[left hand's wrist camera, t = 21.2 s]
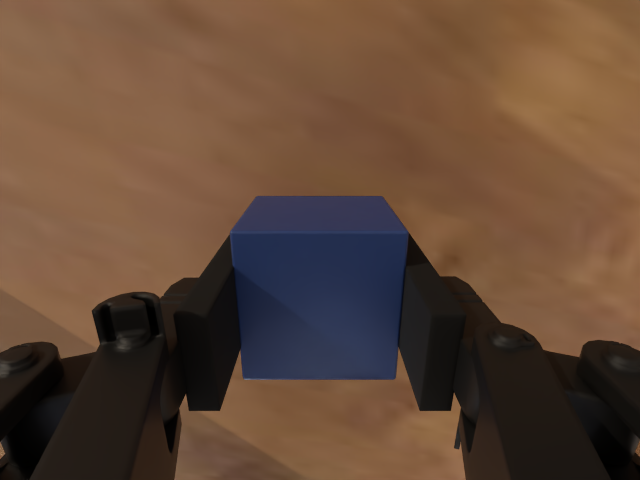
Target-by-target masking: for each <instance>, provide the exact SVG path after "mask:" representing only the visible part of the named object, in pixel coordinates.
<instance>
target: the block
mask: <svg viewBox="0 0 640 480" xmlns="http://www.w3.org/2000/svg"><path fill="white" fill-rule="evenodd" d="M408 236H409V233H408V231H407V229H406V228H405V226H404V225H403V224H402V222H401V221H400V220H399V218H398V217H397V215H396V214H395V213H394V211H393V210H392V209H391V207H390V206H389V205H388V203H387V202H386V200H385V199H384V198H383V197H382V196H257V197H256V198H255V199H254V200H253V202H252V203H251V204H250V206H249V207H248V208H247V210H246V211H245V212H244V214H243V215H242V216H241V218H240V219H239V221H238V222H237V223H236V225H235V226H234V227H233V229H232V230H231V231H230V241H231V252H232V263H233V266H234V276H235V287H236V298H237V309H238V320H239V331H240V343H241V348H240V351H241V362H242V373H243V378H244V379H245V380H393V379H395V378H396V370H397V359H398V348H399V335H400V324H401V313H402V302H403V290H404V279H405V268H406V259H407V247H408Z"/></svg>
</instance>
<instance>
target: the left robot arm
mask: <svg viewBox="0 0 640 480" xmlns="http://www.w3.org/2000/svg"><path fill="white" fill-rule="evenodd" d="M408 233H409V232H408ZM92 314H93V318H94V322H95V326H96V330H97V333H98V337H99V341H100V345H99V347H98V349H97V351H96V352H93V353H89V354H84V355H79V356H74V357H68V358H63V359H61V358H60V355H59V351H58V348H57V347H56V346H55V345H54V344H52V343H47V342H35V343H26V344H21V345H17V346H14V347H11V348H10V349H8V350H6V351H4V352H1V353H0V442H1V444H2V447H3V449H4V452H5V455H4V456H3V457H2V458H1V459H0V480H174V478H175V470H176V463H177V455H178V447H179V440H180V432H181V425H182V424H181V417H180V411H179V407H180V405H181V403H182V401H183V399H184V396H185V394H186V396H187V402H188V408H189V411H220V409H221V406H222V403H223V400H224V397H225V394H226V391H227V388H228V385H229V382H230V379H231V376H232V373H233V370H234V366H235V363H236V360H237V357H238V354H239V351H240V348H241V343H240V331H239V320H238V309H237V298H236V287H235V276H234V266H233V263H232V252H231V241H230V235H229V236H228V238H227V239H226V240H225V242H224V243H223V245H222V246H221V247H220V249H219V250H218V252H217V253H216V254H215V256H214V257H213V259H212V260H211V262H210V263H209V264H208V266H207V267H206V269H205V270H204V271H203V273H202V274H201V276H200V277H199V278H183V279H181V280H180V281H178V282H176V283H174V284H173V285H171V286H170V288H169V289H168V290H167V291H166V292H165V294H164V296H162V297H161V298H159V297H158V296H157V295H155V294H153V293H149V292H131V293H126V294H121V295H118V296H115V297H112V298H109V299H107V300H105V301H104V302H102V303H100V304H98V305H97V306H96V307H95V308H94V309H93V310H92ZM399 349H400V352H401V355H402V358H403V361H404V364H405V367H406V370H407V373H408V376H409V379H410V382H411V386H412V389H413V392H414V395H415V398H416V401H417V404H418V407H419V410H420V411H451V406H452V400H453V394H454V393H455V395H456V397H457V399H458V402H459V404H460V406H461V411H460V417H459V422H458V428H457V433H456V439H455V446H454V448H455V449H459V447H460V442H461V447H462V454H463V462H464V469H465V477H466V480H640V457H639V456H638V455H637V454H636V453H635V451H636V448H637V446H638V444H639V441H640V351H638V350H636V349H634V348H632V347H630V346H628V345H625V344H622V343H621V344H619V343H618V342H614V341H603V340H595V341H588V342H587V343H586V344H584V345H583V347H582V350H581V354H580V357H575V356H570V355H565V354H559V353H554V352H549V351H545V350H543V349H542V347H541V345H540V343H539V342H538V341H537V340H536V338H535V337H534V336H532V335H531V334H529V333H528V332H526V331H525V330H523V329H520V328H518V327H515V326H513V325H509V324H504V323H501V322H500V321H499V320H498V318H497V317H496V316H495V315H494V314H493V313H492V311H491V310H490V309H489V308H488V307H487V305H486V304H485V303H484V302H482V299H481V298H480V297H479V296H478V295H476V292H475V291H474V290H473V289H472V288H471V286H470V285H469V284H468V283H466V282H464V281H462V280H461V279H459V278H457V277H440V276H439V275H438V273H437V272H436V270H435V269H434V268H433V266H432V265H431V263H430V262H429V261H428V259H427V258H426V256H425V255H424V253H423V252H422V251H421V249H420V248H419V246H418V245H417V244H416V242H415V241H414V239H413V238H412V237H411V235H410V234H409V236H408V247H407V259H406V268H405V279H404V290H403V302H402V313H401V324H400V335H399Z"/></svg>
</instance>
